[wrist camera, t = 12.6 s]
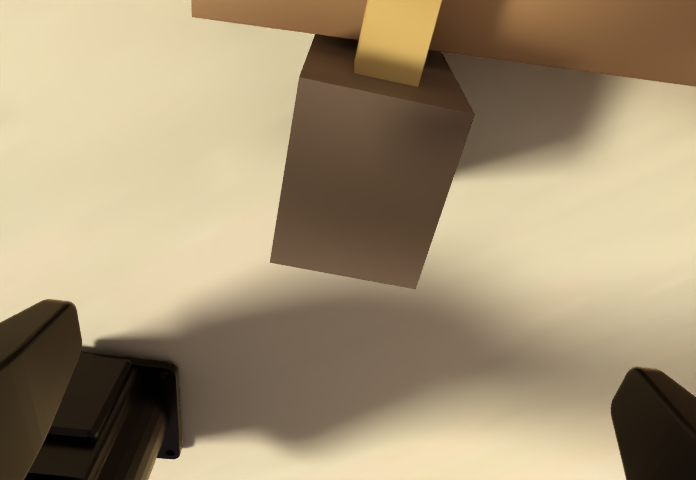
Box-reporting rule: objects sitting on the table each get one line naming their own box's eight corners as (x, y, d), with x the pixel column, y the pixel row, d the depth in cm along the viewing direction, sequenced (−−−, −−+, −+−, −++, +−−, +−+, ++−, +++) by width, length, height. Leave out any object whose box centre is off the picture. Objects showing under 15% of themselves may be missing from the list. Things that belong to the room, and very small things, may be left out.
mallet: (401, 184, 20) (415, 289, 15) (295, 163, 20) (269, 262, 15) (532, -274, 14) (646, -395, 8) (376, -317, 13) (386, -475, 8)
